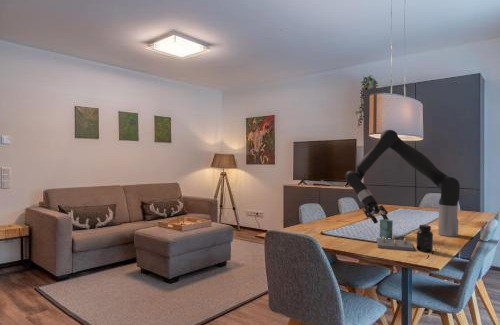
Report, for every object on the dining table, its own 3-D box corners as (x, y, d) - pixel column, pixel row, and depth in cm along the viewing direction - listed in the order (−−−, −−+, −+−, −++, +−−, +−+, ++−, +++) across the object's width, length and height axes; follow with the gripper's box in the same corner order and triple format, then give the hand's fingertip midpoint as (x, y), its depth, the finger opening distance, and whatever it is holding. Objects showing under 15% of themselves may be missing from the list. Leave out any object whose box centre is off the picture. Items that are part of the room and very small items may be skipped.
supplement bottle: (413, 248, 167) (414, 224, 166) (427, 248, 167) (427, 224, 167) (421, 252, 160) (422, 227, 160) (435, 252, 160) (436, 227, 160)
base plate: (409, 243, 176) (410, 235, 176) (413, 251, 163) (413, 242, 162) (376, 240, 181) (376, 233, 181) (377, 247, 168) (377, 239, 167)
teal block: (385, 237, 190) (385, 219, 190) (392, 238, 186) (392, 220, 186) (379, 237, 188) (380, 219, 188) (386, 239, 184) (386, 221, 184)
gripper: (361, 195, 194) (376, 219, 184) (379, 194, 200) (395, 217, 190) (354, 203, 198) (369, 227, 188) (372, 202, 205) (387, 225, 195)
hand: (382, 222), depth 189 cm, fingers open, 8 cm apart
